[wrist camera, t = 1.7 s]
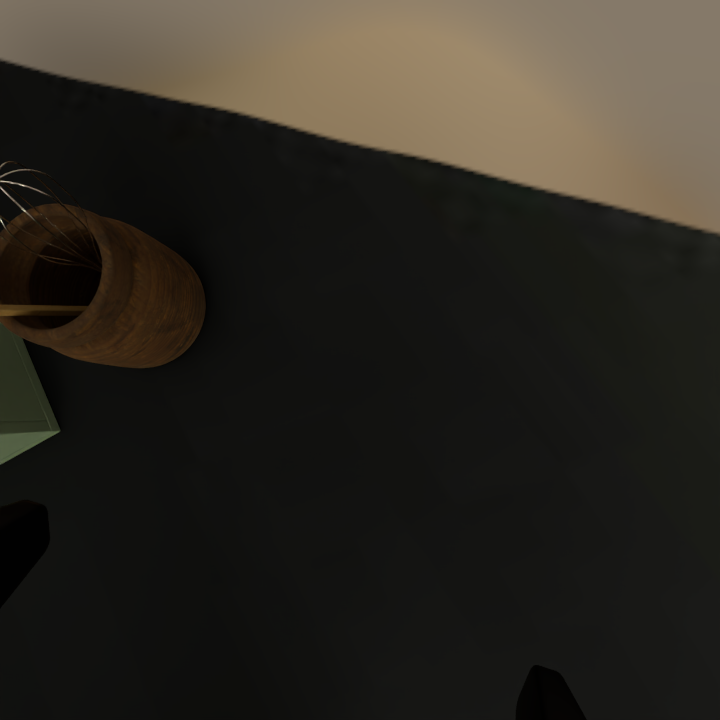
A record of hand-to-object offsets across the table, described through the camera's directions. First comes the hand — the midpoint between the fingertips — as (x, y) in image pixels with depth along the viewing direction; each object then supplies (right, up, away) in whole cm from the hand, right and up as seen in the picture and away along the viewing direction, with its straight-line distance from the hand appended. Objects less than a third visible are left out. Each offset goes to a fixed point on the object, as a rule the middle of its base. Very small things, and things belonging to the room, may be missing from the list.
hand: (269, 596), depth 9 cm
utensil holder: (-9, +6, +16) cm, 19 cm away
